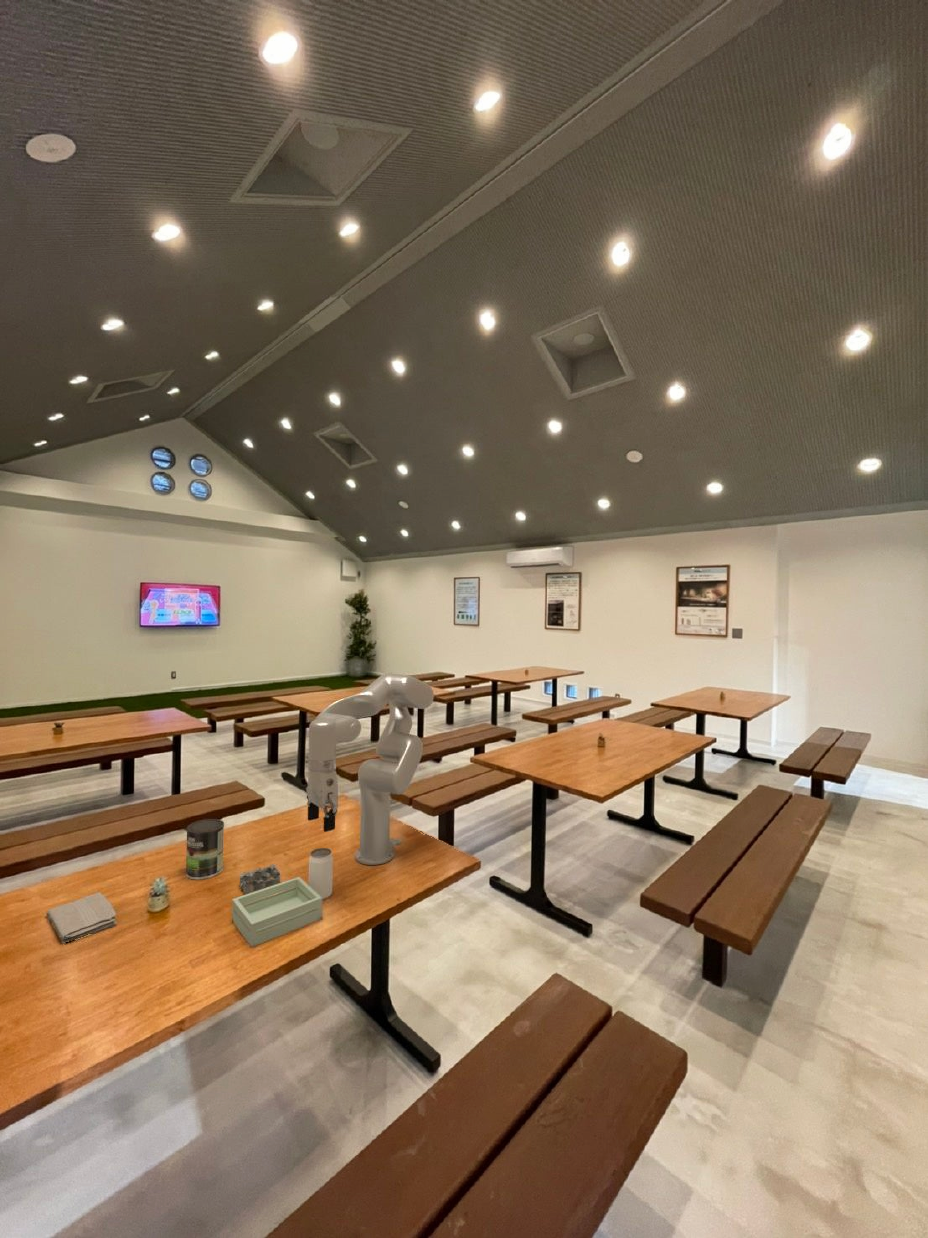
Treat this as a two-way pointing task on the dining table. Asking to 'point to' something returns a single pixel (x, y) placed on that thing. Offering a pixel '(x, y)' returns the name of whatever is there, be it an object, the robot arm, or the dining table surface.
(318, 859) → the can
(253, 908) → the tray
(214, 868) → the coffee can
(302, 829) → the dining table surface
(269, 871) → the egg carton
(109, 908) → the washcloth
